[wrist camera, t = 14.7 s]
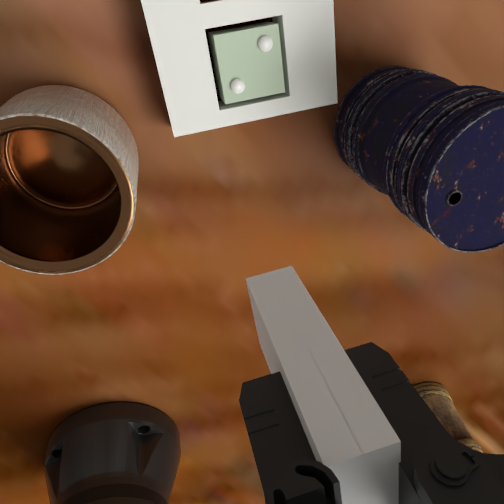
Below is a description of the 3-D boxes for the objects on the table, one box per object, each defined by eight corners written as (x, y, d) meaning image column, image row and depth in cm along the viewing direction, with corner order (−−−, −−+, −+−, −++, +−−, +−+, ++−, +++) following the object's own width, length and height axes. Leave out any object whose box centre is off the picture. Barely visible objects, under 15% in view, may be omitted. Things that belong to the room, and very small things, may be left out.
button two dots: (218, 95, 35) (225, 104, 32) (207, 32, 32) (213, 35, 30) (274, 84, 35) (286, 92, 33) (267, 21, 33) (279, 23, 30)
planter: (-42, 127, 32) (-104, 171, 24) (84, 54, 32) (64, 74, 24) (55, 237, 38) (31, 302, 30) (163, 178, 38) (169, 228, 29)
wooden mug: (374, 451, 65) (445, 590, 50) (395, 385, 58) (485, 522, 43) (428, 442, 67) (512, 574, 52) (454, 378, 60) (560, 507, 45)
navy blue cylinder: (434, 49, 37) (585, 76, 24) (437, 157, 42) (562, 225, 30) (323, 85, 36) (419, 131, 24) (340, 189, 42) (425, 273, 29)
